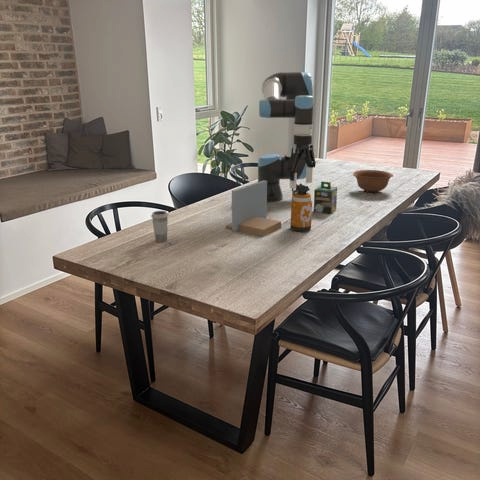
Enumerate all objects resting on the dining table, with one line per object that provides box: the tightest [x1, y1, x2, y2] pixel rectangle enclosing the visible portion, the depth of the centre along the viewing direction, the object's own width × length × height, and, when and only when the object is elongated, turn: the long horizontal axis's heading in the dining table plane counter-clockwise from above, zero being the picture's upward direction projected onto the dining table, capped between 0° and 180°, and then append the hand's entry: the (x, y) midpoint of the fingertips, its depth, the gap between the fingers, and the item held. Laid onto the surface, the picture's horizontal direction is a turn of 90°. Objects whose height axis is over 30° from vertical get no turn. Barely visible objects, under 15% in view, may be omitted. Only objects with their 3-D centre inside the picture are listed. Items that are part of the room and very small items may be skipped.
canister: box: [289, 183, 313, 232], centre depth 212 cm, size 9×11×20 cm
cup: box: [150, 210, 169, 243], centre depth 199 cm, size 7×7×12 cm
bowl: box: [352, 169, 394, 195], centre depth 275 cm, size 22×22×11 cm
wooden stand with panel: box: [225, 180, 282, 237], centre depth 216 cm, size 20×24×18 cm
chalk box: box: [313, 181, 338, 215], centre depth 239 cm, size 9×9×15 cm
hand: (301, 185), depth 208 cm, fingers open, 13 cm apart
